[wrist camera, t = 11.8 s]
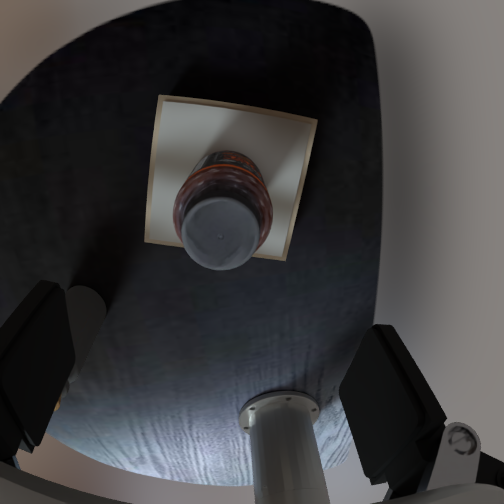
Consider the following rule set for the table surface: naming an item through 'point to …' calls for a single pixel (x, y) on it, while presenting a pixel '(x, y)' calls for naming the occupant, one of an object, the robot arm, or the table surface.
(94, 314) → the bottle
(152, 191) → the grey square box
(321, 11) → the table surface
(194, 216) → the supplement bottle
